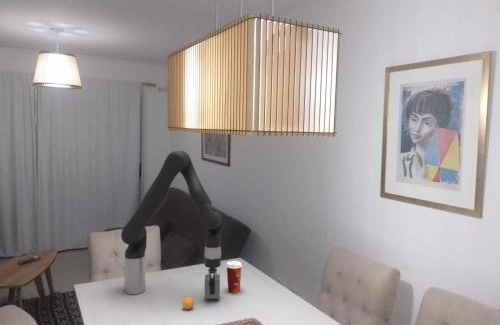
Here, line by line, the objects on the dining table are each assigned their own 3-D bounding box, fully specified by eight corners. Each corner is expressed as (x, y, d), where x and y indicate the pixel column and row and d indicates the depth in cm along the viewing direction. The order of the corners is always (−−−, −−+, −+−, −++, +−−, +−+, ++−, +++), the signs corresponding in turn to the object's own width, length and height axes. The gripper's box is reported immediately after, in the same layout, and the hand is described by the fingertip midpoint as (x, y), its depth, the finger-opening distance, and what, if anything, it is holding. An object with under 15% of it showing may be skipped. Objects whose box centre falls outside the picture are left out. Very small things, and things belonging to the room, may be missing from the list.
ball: (179, 309, 172) (179, 298, 171) (188, 305, 176) (188, 294, 175) (188, 312, 169) (188, 301, 168) (196, 308, 173) (196, 297, 172)
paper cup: (239, 295, 187) (240, 266, 186) (224, 293, 188) (224, 265, 187) (243, 288, 194) (243, 260, 193) (228, 287, 196) (228, 259, 195)
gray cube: (204, 298, 178) (204, 279, 178) (205, 292, 185) (205, 274, 185) (219, 298, 179) (219, 279, 178) (219, 292, 186) (220, 274, 185)
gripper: (205, 250, 187) (205, 284, 189) (203, 260, 173) (203, 297, 175) (221, 250, 188) (220, 284, 189) (220, 260, 174) (220, 297, 175)
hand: (212, 290), depth 182 cm, fingers closed on gray cube, 7 cm apart
